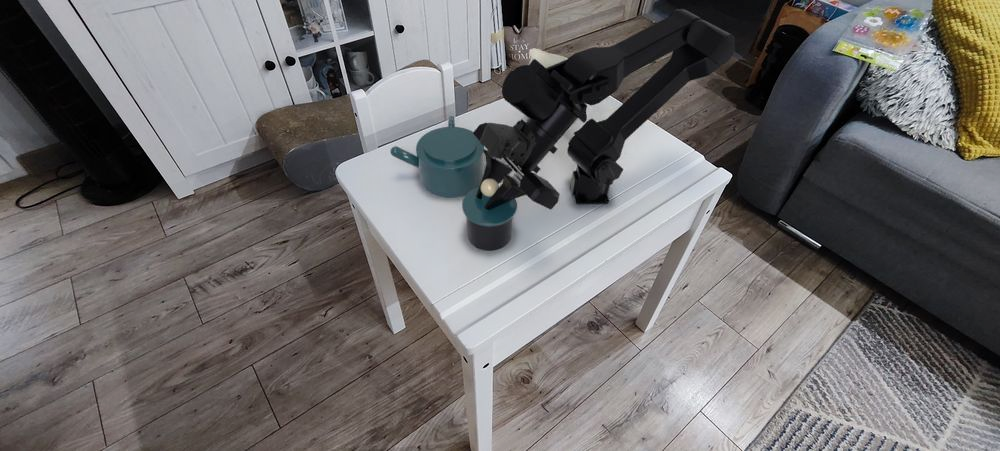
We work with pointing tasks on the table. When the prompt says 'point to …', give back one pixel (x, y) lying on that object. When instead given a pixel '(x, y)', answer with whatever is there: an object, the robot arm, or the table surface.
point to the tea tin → (489, 235)
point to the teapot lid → (476, 207)
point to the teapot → (447, 160)
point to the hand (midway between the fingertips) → (482, 203)
